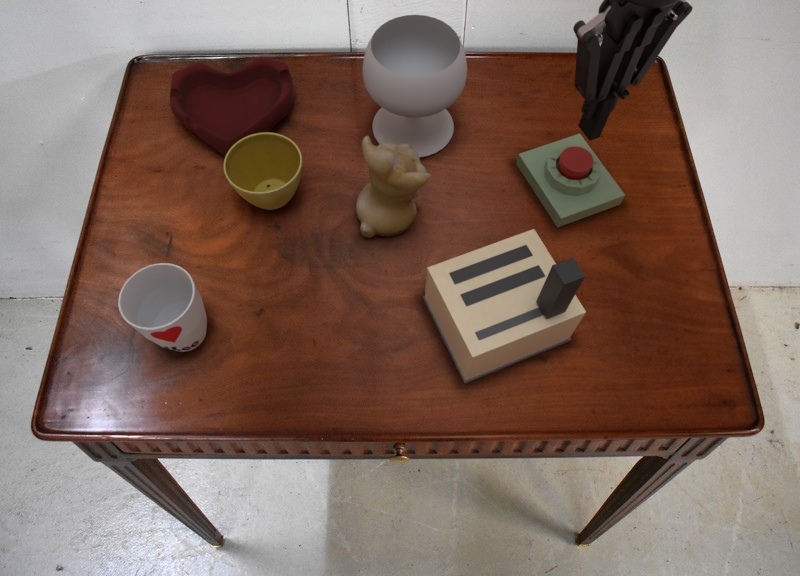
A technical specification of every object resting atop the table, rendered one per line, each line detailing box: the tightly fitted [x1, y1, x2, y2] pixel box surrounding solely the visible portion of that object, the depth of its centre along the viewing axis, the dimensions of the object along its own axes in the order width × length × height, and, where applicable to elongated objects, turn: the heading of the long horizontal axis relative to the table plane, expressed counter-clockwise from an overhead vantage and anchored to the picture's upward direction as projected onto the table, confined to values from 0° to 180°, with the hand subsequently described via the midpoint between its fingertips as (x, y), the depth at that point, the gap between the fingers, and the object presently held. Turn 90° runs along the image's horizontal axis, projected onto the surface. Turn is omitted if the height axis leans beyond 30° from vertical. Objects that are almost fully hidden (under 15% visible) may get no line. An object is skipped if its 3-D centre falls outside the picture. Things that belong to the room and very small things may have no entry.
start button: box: [557, 146, 593, 180], centre depth 80 cm, size 4×4×2 cm
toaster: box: [422, 228, 587, 385], centre depth 70 cm, size 12×14×8 cm
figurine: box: [355, 135, 432, 239], centre depth 74 cm, size 10×8×15 cm
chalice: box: [362, 14, 468, 158], centre depth 82 cm, size 14×14×15 cm
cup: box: [117, 262, 208, 353], centre depth 69 cm, size 8×8×10 cm
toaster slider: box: [536, 257, 586, 319], centre depth 62 cm, size 2×2×8 cm
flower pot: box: [223, 131, 303, 211], centre depth 80 cm, size 10×10×7 cm
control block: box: [515, 133, 626, 228], centre depth 82 cm, size 12×10×4 cm
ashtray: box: [169, 56, 295, 157], centre depth 87 cm, size 18×16×5 cm
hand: (588, 131), depth 74 cm, fingers closed
